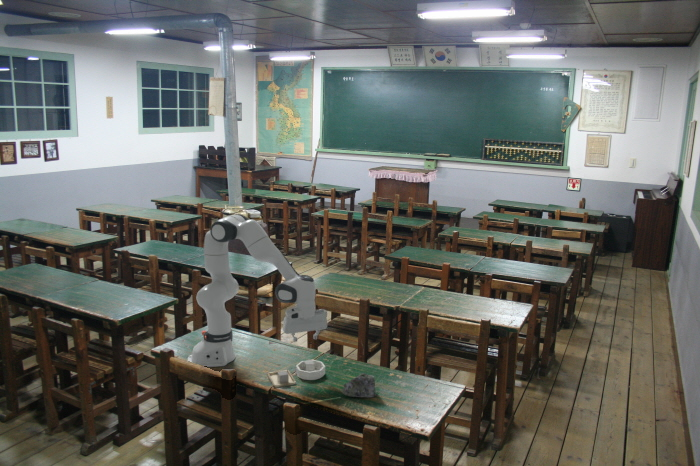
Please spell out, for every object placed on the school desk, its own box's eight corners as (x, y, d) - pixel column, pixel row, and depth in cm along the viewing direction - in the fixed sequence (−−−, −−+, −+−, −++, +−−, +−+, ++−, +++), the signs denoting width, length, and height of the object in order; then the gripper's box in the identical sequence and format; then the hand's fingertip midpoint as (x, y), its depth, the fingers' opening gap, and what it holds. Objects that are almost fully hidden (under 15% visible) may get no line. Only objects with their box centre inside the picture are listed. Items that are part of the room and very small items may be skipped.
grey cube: (306, 373, 251) (306, 364, 250) (303, 369, 254) (303, 361, 254) (314, 372, 252) (314, 363, 251) (311, 368, 256) (311, 359, 255)
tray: (273, 388, 238) (273, 385, 237) (267, 376, 249) (266, 372, 249) (296, 385, 241) (296, 381, 241) (288, 372, 253) (288, 369, 253)
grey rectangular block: (279, 385, 240) (279, 375, 239) (277, 381, 244) (277, 371, 243) (288, 383, 241) (288, 374, 240) (286, 379, 245) (286, 370, 244)
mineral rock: (341, 397, 232) (341, 375, 230) (351, 386, 241) (352, 365, 239) (369, 403, 227) (369, 381, 225) (378, 392, 236) (379, 370, 234)
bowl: (301, 383, 243) (301, 373, 243) (293, 371, 255) (293, 362, 254) (327, 378, 248) (327, 369, 247) (319, 367, 259) (319, 358, 258)
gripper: (324, 306, 253) (324, 334, 256) (281, 311, 245) (281, 340, 248) (329, 310, 247) (329, 339, 250) (285, 315, 240) (285, 345, 242)
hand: (305, 340), depth 249 cm, fingers open, 8 cm apart
